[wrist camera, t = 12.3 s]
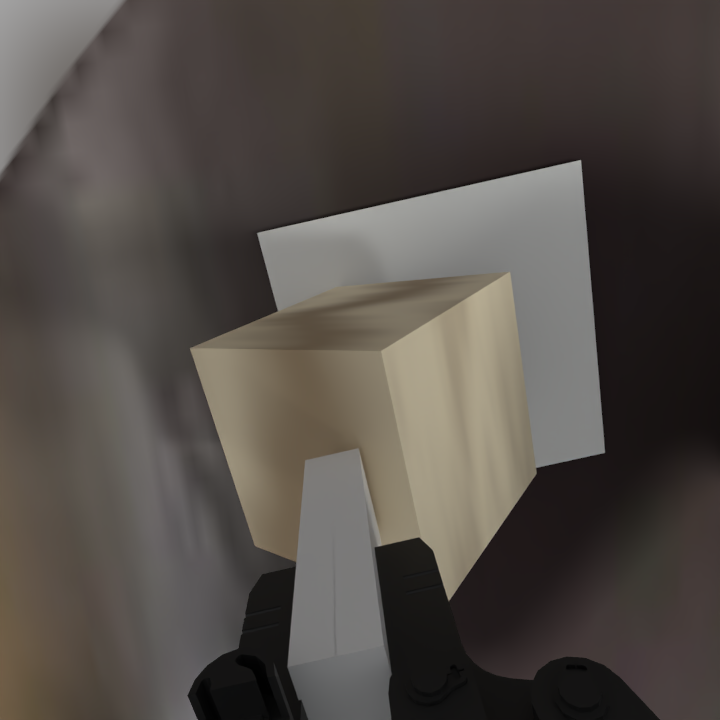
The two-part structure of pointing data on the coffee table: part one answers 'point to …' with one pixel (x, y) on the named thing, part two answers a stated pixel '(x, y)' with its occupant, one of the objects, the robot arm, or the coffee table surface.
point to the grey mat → (472, 257)
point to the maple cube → (381, 410)
